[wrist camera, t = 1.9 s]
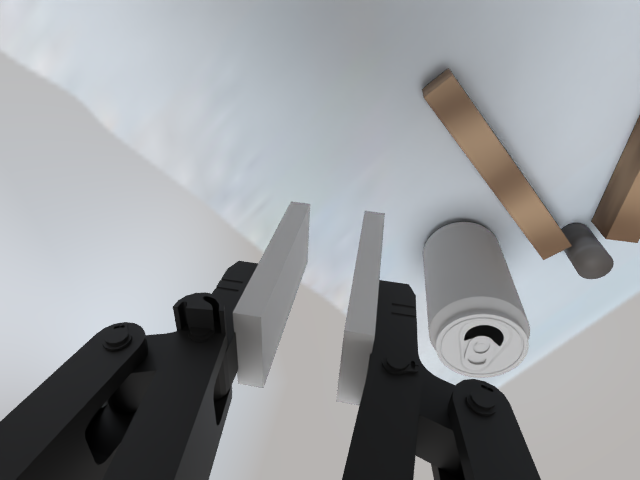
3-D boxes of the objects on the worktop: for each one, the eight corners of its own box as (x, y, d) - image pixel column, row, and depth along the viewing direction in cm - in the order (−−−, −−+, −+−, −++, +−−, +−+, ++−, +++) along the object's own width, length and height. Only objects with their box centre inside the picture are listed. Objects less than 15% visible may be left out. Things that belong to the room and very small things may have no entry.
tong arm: (422, 89, 30) (423, 97, 28) (448, 68, 29) (452, 75, 27) (534, 241, 35) (543, 259, 32) (560, 227, 34) (572, 245, 31)
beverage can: (507, 222, 34) (551, 319, 24) (486, 283, 38) (517, 390, 28) (430, 212, 35) (441, 302, 25) (416, 273, 39) (421, 373, 28)
